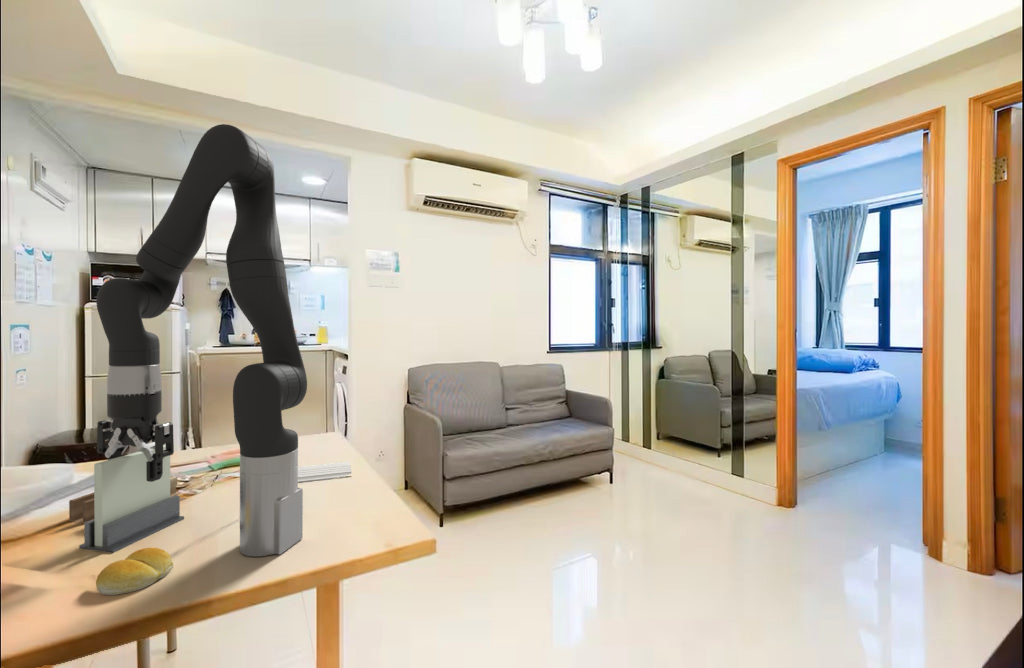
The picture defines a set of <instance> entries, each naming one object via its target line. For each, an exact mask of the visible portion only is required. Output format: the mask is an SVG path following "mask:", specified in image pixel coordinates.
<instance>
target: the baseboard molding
mask: <svg viewBox="0 0 1024 668" xmlns="http://www.w3.org/2000/svg"><path fill="white" fill-rule="evenodd" d="M351 467H352V466H351V462H350V461H342V462H333V463H331V462H330V463H323V464H313V465H301V466H298V484H302V483H310V482H317V481H327V479H328V480H333V479H332V478H337V477H344V476H346V475H349V474H352V469H351ZM222 472H223V471H222V470H221V471H220V473H219V475H218V474H216V476H215V480H214V482H213V483H211V486H213V484H214V483H215V482H216V480H217V479H218V478H219V476H226V477H227V476H228V477H237V478H240V471H239V472H231V473H222ZM337 479H338V478H337Z"/></svg>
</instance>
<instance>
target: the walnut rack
mask: <svg viewBox="0 0 1024 668" xmlns="http://www.w3.org/2000/svg"><path fill="white" fill-rule="evenodd" d="M184 500H187V497H180V502H181V501H184ZM68 507H69V510H68V511H69V512H68V515H69V520H68V522H69V523H70V522H73V523H79V524H80V523H81V524H84V523H85V522H87V521H90V520H93V519H95V512H94V492H91V493H87V494H85V495H82V496H80V497H76V498H73V499H70V500H69V501H68Z"/></svg>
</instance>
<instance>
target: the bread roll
mask: <svg viewBox="0 0 1024 668" xmlns="http://www.w3.org/2000/svg"><path fill="white" fill-rule="evenodd" d="M174 566H175V565H174V560H173V557H172V556H171V555H170V553H168V551H166V550H165V549H162V548H159V547H145V548H141V549H137V550H135V551H134V552H132V553H131V554H128V556H127V557H125V558H124V559H121V560H116V561H115V562H112V563H109V564H107V566H105V567H104V568H103V569H102V570H101V571H100V573H99V574H98V575H97V577H96V580H95V586H96V589H97V591H98V592H99V593H100V594H102V595H106V596H117V595H121V594H127V593H133V592H136V591H140V590H142V589H144V588H146V587H149V586H150V585H152V584H154V583H155V582H156V581H158V580H160V579H163V578H164V577H166V576H167V575H168V574H169V573H170V572H171V571H172V569H173V568H174Z"/></svg>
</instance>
